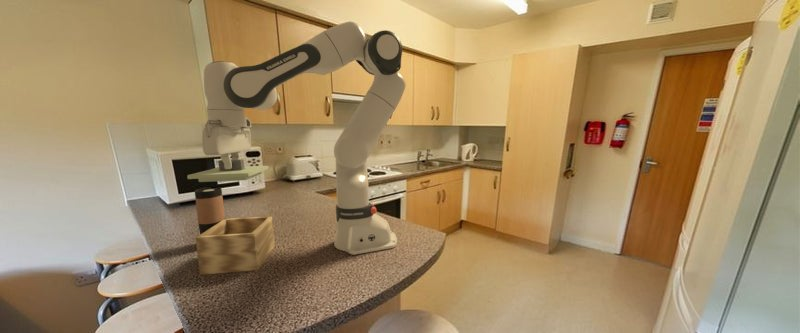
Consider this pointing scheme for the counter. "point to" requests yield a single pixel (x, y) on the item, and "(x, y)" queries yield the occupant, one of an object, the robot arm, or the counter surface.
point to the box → (235, 245)
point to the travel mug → (209, 207)
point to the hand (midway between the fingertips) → (232, 167)
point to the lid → (228, 172)
